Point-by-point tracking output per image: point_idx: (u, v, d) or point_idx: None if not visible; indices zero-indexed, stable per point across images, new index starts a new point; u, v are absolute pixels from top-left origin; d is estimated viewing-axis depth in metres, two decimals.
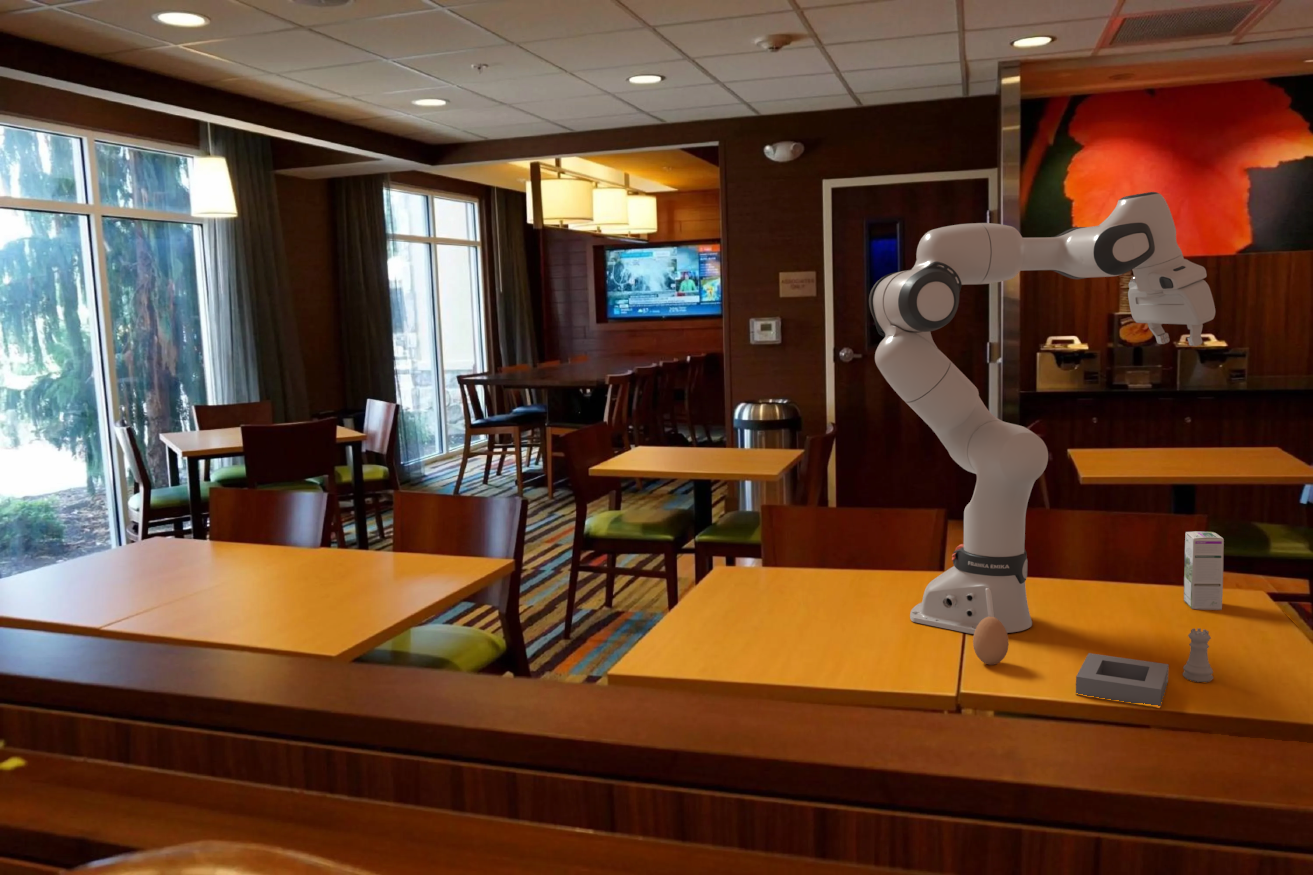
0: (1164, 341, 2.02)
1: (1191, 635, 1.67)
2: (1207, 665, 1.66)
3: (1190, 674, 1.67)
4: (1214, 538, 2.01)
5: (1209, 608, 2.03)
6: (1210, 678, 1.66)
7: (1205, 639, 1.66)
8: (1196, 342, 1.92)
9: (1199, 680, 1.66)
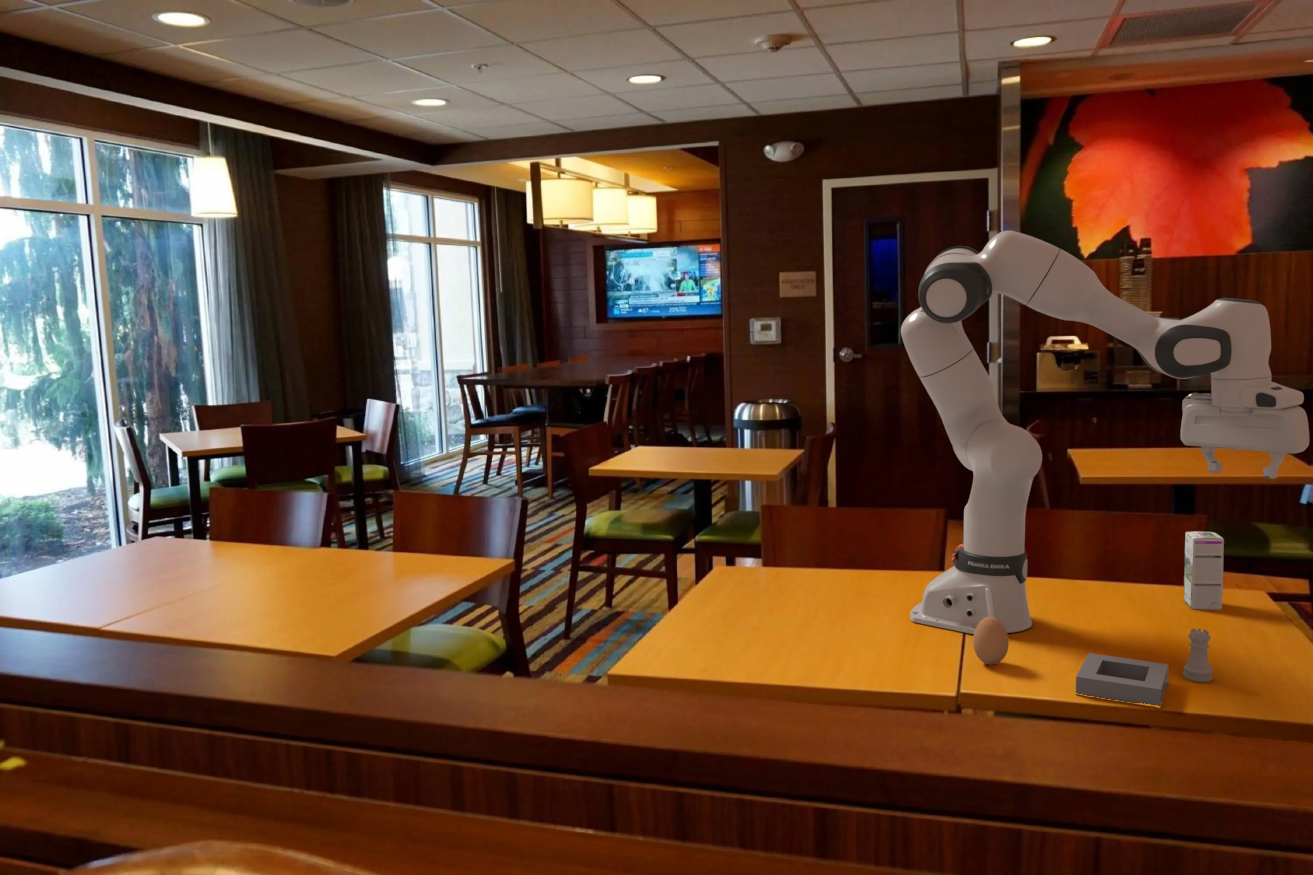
0: (1218, 470, 1.79)
1: (1190, 635, 1.67)
2: (1207, 665, 1.66)
3: (1190, 674, 1.67)
4: (1214, 538, 2.01)
5: (1209, 608, 2.03)
6: (1210, 678, 1.66)
7: (1205, 639, 1.66)
8: (1273, 474, 1.71)
9: (1199, 680, 1.66)
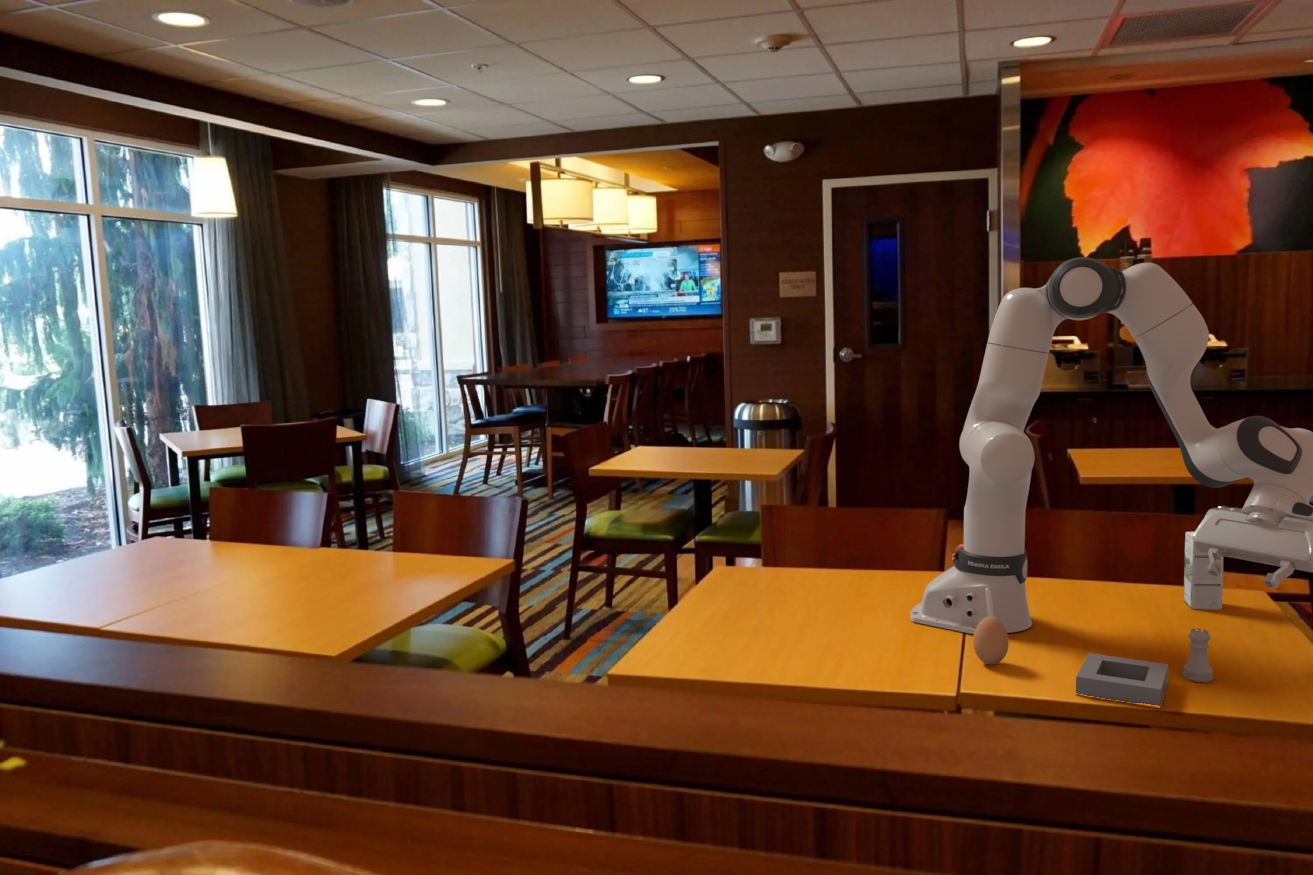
0: (1216, 571, 1.76)
1: (1190, 635, 1.67)
2: (1207, 665, 1.66)
3: (1190, 674, 1.67)
4: None
5: (1209, 608, 2.03)
6: (1210, 678, 1.66)
7: (1205, 639, 1.66)
8: (1275, 581, 1.68)
9: (1199, 680, 1.66)
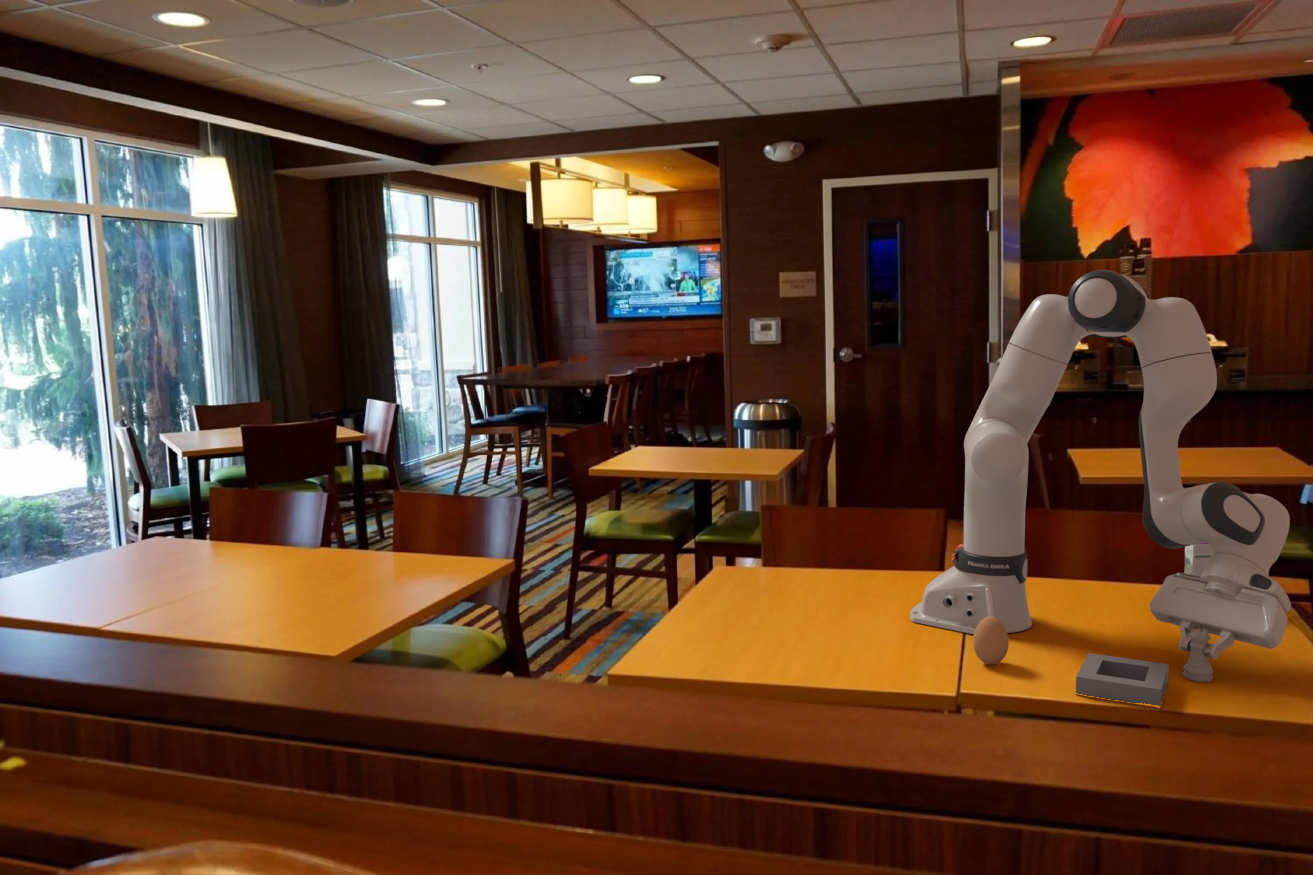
0: (1188, 647, 1.68)
1: (1191, 635, 1.67)
2: (1207, 664, 1.66)
3: (1190, 673, 1.67)
4: None
5: None
6: (1210, 678, 1.66)
7: (1205, 639, 1.66)
8: (1215, 653, 1.65)
9: (1199, 680, 1.66)
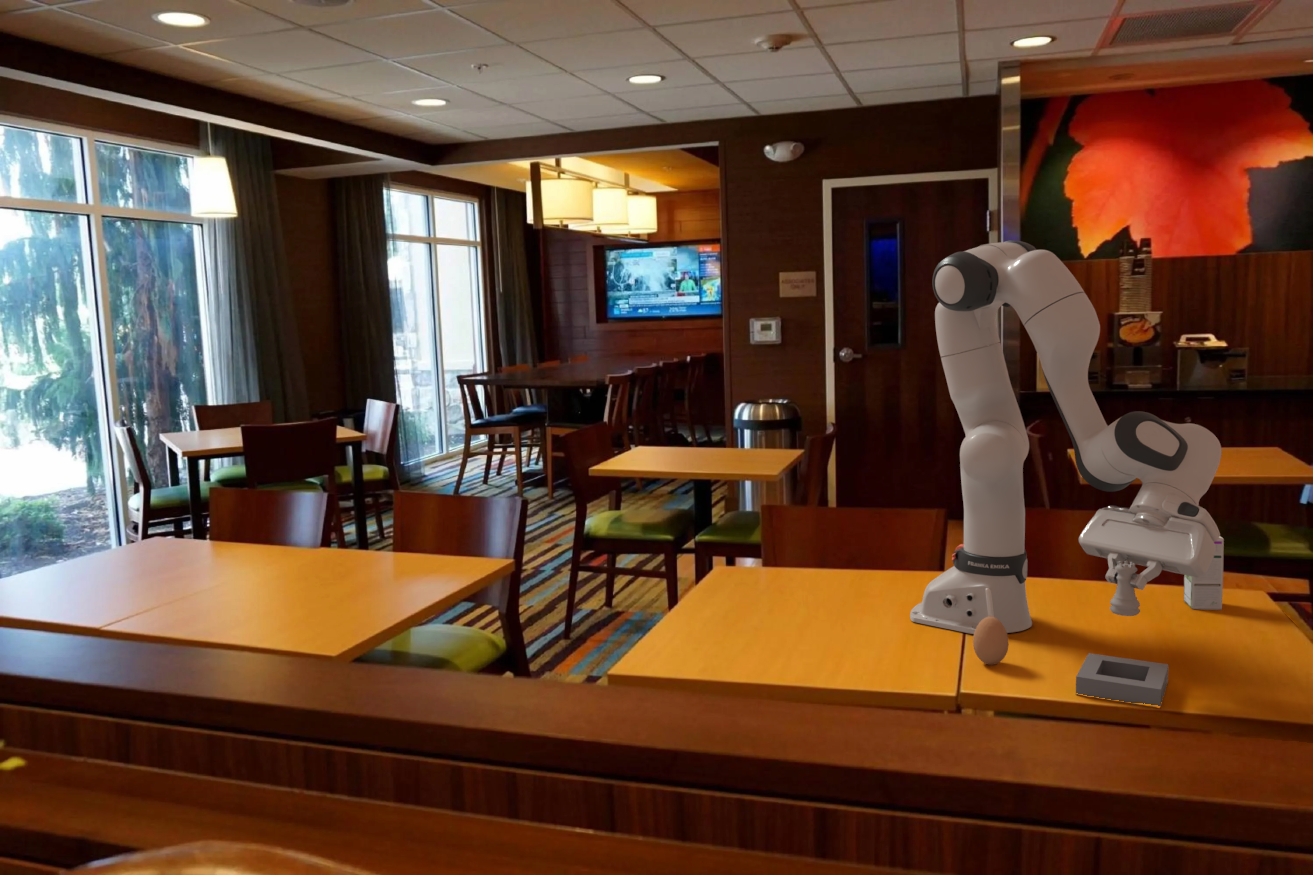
0: (1115, 578, 1.63)
1: (1117, 567, 1.62)
2: (1133, 598, 1.61)
3: (1116, 607, 1.62)
4: None
5: (1209, 608, 2.03)
6: (1136, 611, 1.61)
7: (1131, 571, 1.61)
8: (1141, 583, 1.60)
9: (1125, 613, 1.61)
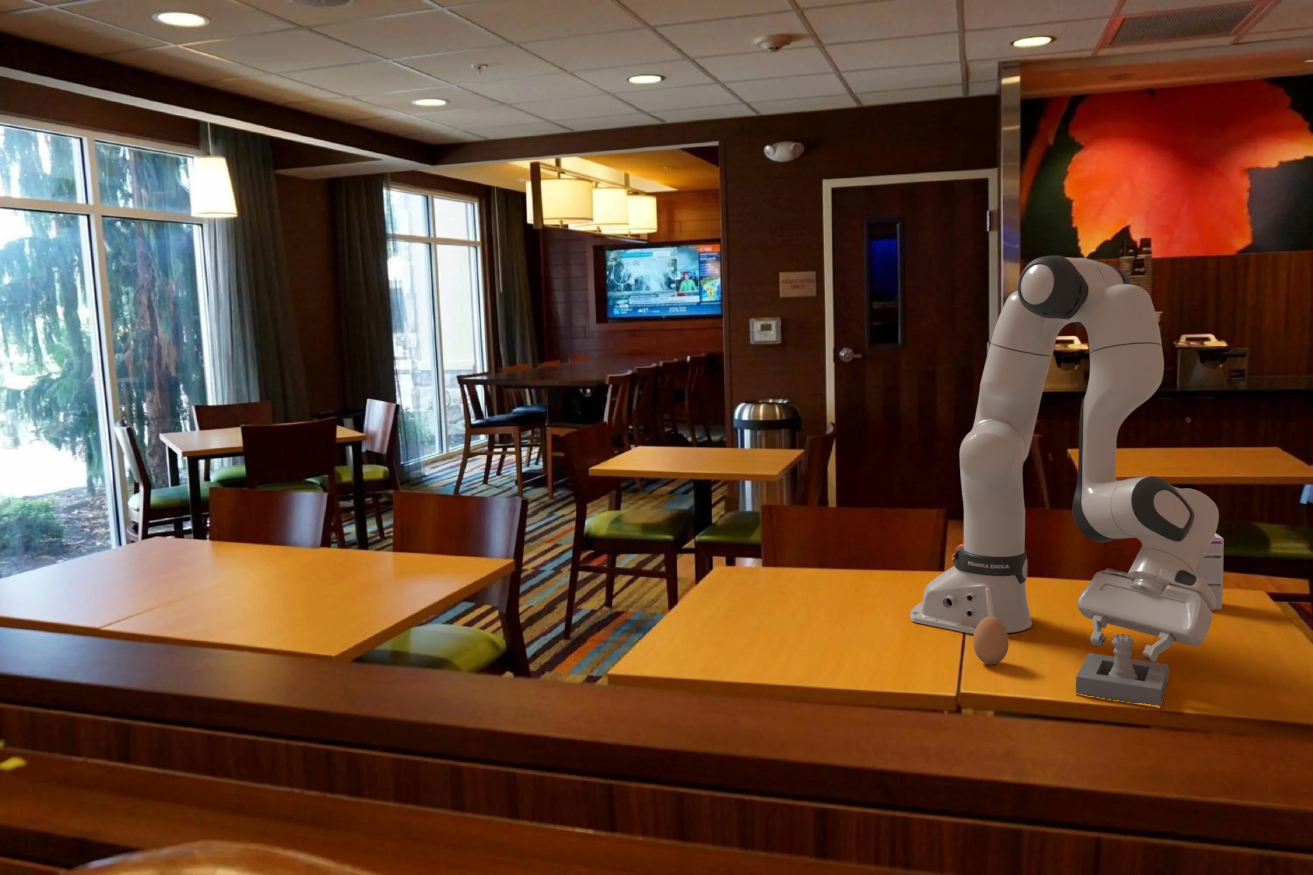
0: (1100, 641, 1.67)
1: (1113, 641, 1.64)
2: (1131, 671, 1.63)
3: None
4: (1214, 538, 2.01)
5: None
6: None
7: (1128, 645, 1.62)
8: (1153, 655, 1.59)
9: None
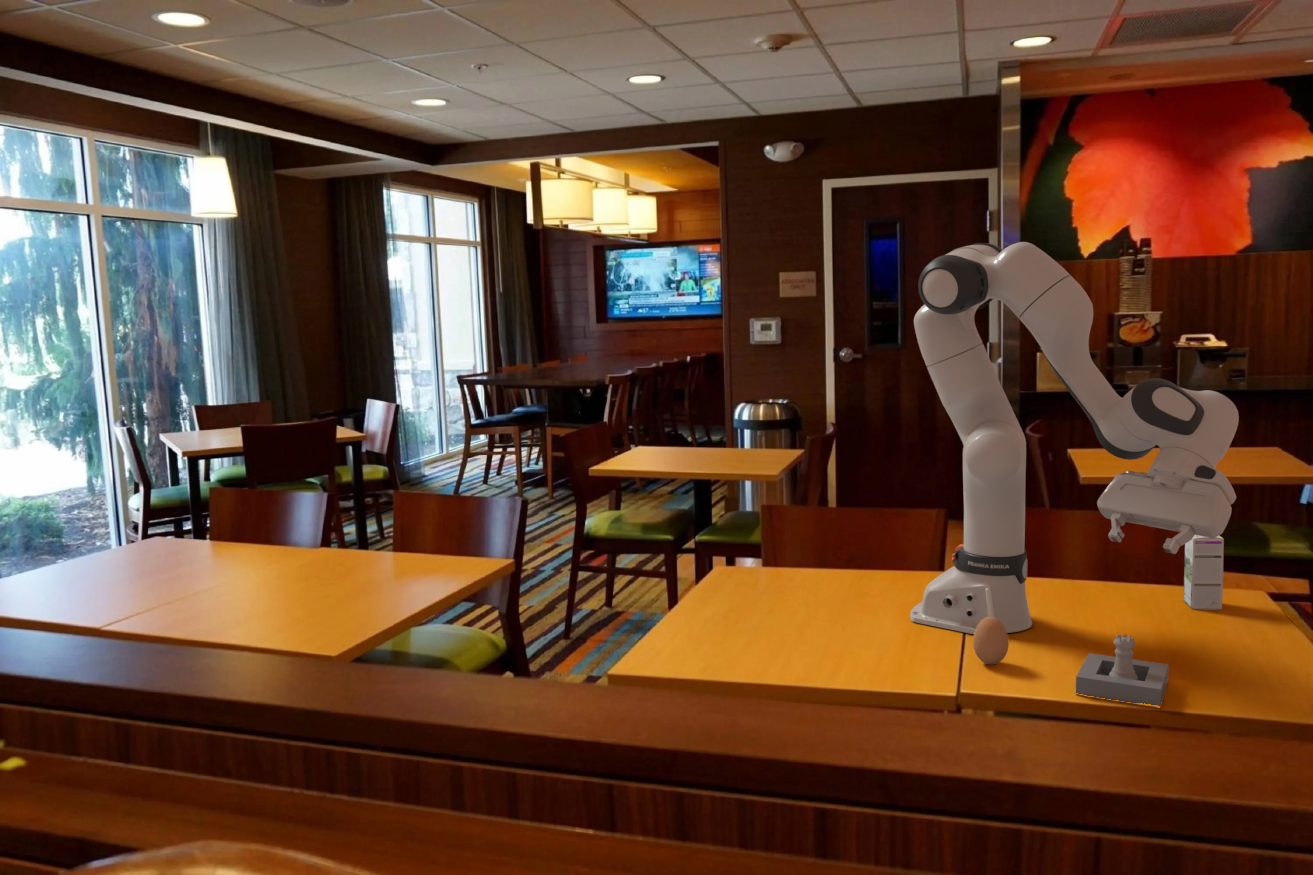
0: (1118, 537, 1.69)
1: (1115, 642, 1.63)
2: (1132, 672, 1.63)
3: None
4: (1214, 538, 2.01)
5: (1209, 608, 2.03)
6: None
7: (1129, 645, 1.62)
8: (1174, 547, 1.61)
9: None
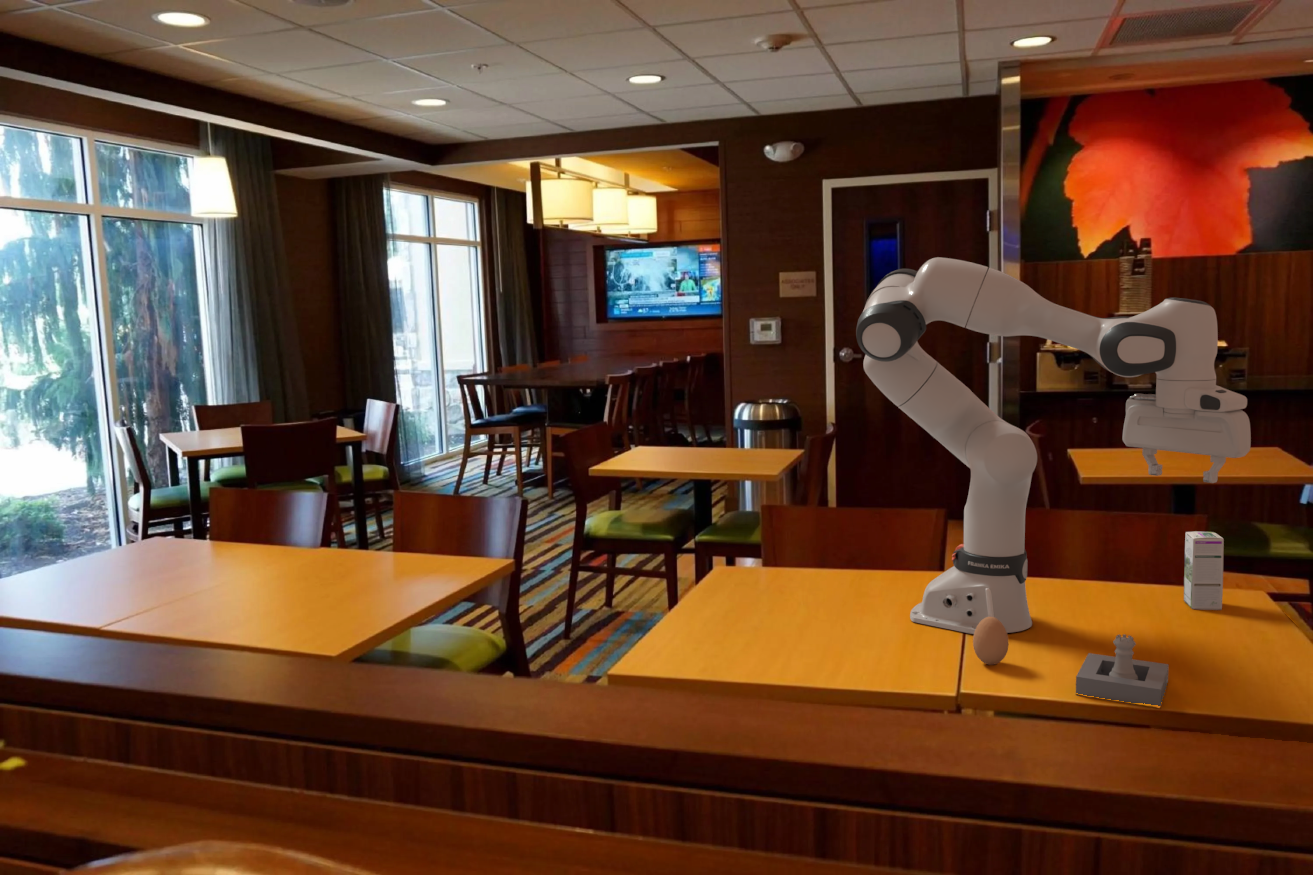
0: (1158, 473, 1.77)
1: (1115, 642, 1.63)
2: (1132, 672, 1.63)
3: None
4: (1214, 538, 2.01)
5: (1209, 608, 2.03)
6: None
7: (1129, 645, 1.62)
8: (1213, 478, 1.69)
9: None
